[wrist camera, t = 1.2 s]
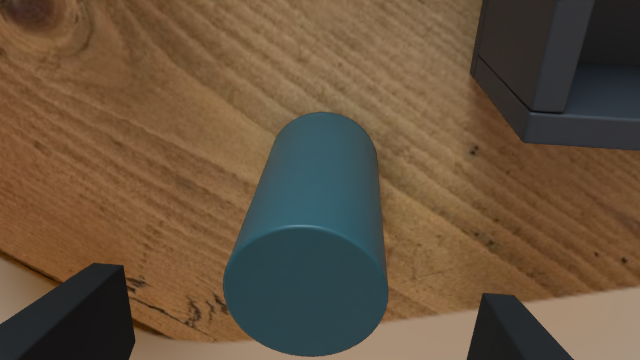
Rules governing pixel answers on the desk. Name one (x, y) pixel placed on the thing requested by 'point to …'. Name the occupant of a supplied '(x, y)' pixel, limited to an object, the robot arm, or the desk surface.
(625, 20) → the bin
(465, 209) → the desk surface
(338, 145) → the teal cylinder
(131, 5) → the desk surface
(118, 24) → the desk surface
